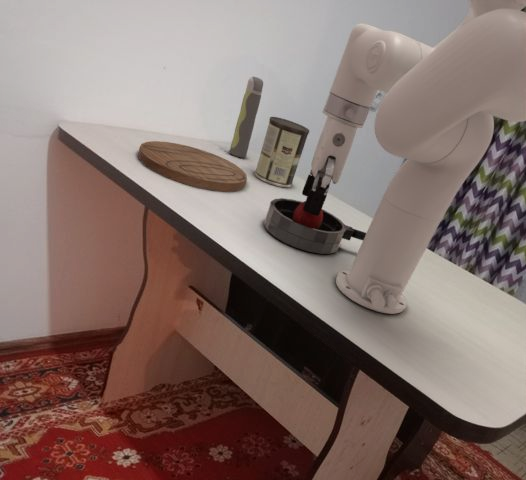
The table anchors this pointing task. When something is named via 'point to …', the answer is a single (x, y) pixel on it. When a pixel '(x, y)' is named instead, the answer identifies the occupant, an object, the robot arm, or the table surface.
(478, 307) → the table surface
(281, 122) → the coffee can
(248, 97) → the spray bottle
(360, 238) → the pan handle
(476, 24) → the robot arm
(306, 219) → the onion
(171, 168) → the trivet
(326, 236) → the pan
